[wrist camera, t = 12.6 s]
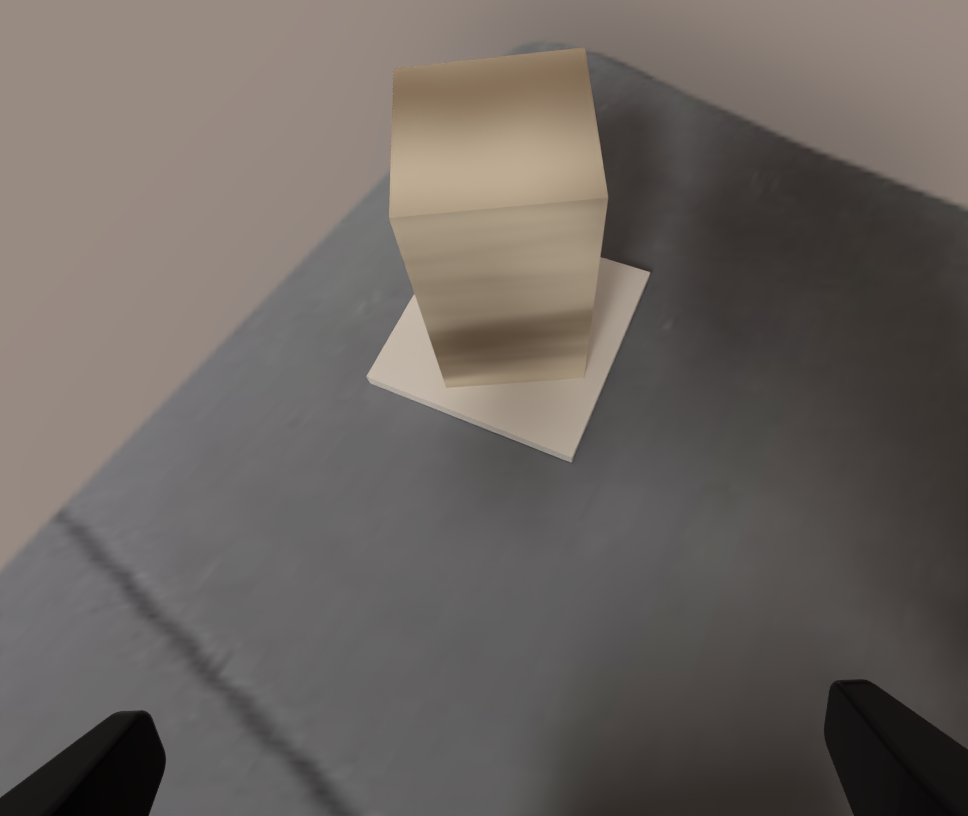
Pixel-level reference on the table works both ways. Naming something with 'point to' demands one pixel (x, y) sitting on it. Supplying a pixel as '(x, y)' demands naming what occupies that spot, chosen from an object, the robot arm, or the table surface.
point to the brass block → (500, 212)
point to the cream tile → (526, 405)
